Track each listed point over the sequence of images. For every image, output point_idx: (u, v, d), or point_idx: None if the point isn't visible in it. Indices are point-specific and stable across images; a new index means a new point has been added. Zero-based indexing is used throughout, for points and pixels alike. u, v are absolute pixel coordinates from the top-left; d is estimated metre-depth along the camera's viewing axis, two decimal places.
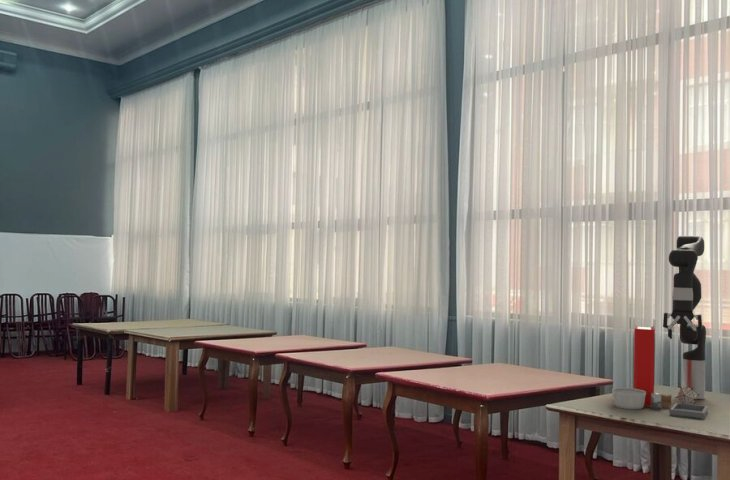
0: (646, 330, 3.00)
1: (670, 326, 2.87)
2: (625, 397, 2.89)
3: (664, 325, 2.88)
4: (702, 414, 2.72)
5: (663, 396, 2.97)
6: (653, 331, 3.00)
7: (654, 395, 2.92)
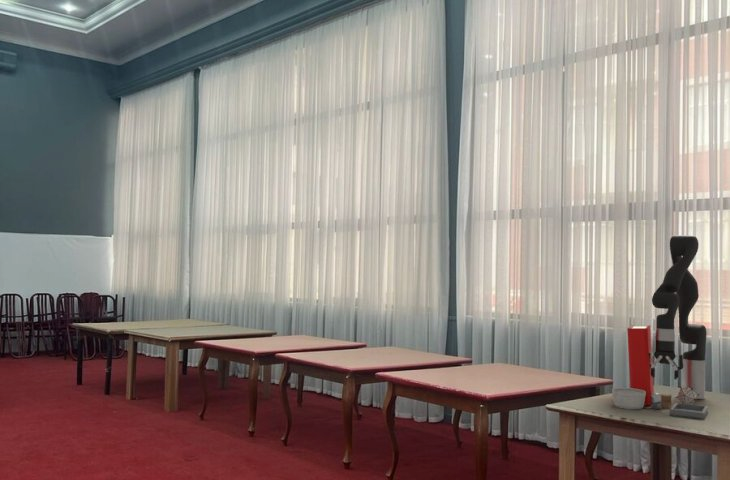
0: (639, 329, 3.01)
1: (653, 365, 3.00)
2: (625, 397, 2.89)
3: None
4: (702, 414, 2.72)
5: (663, 396, 2.97)
6: (646, 330, 3.01)
7: (654, 395, 2.92)
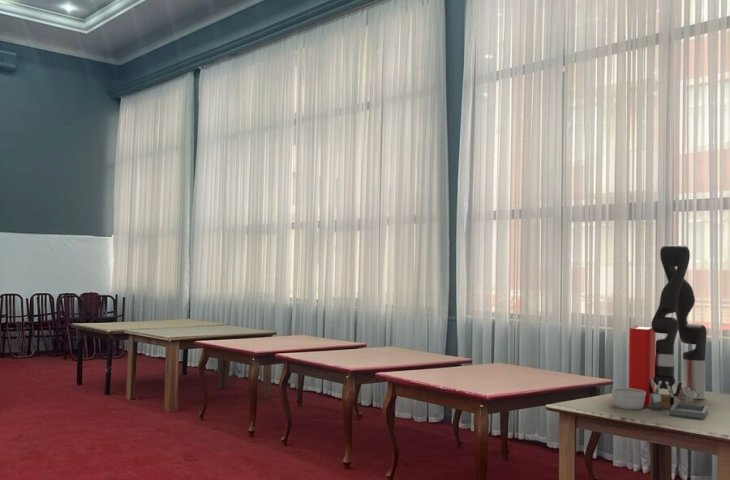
0: (641, 330, 3.00)
1: (656, 392, 2.99)
2: (625, 397, 2.89)
3: (650, 391, 3.00)
4: (702, 414, 2.72)
5: (663, 396, 2.97)
6: (648, 331, 3.00)
7: (654, 395, 2.92)
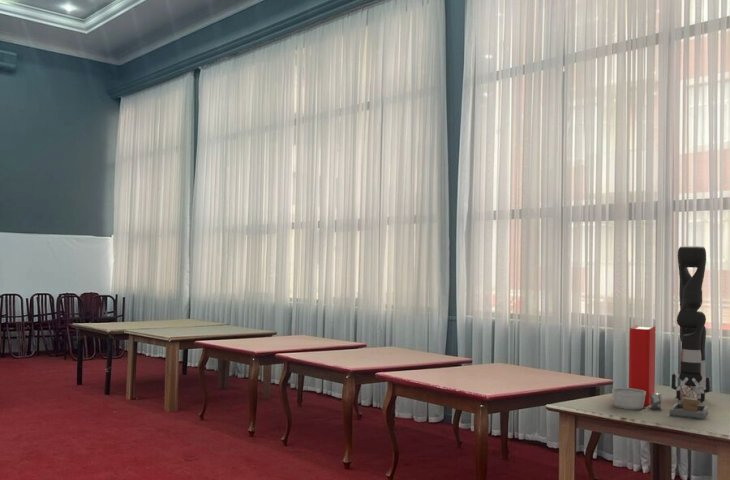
0: (641, 330, 3.00)
1: (679, 388, 2.87)
2: (625, 397, 2.89)
3: (672, 386, 2.88)
4: (702, 414, 2.72)
5: (690, 400, 2.84)
6: (648, 331, 3.00)
7: (654, 395, 2.92)
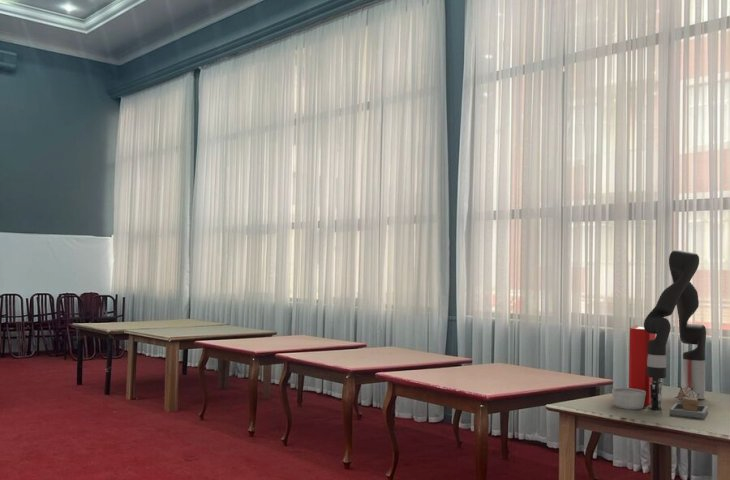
0: (641, 330, 3.00)
1: None
2: (625, 397, 2.89)
3: None
4: (702, 414, 2.72)
5: (690, 400, 2.84)
6: None
7: None
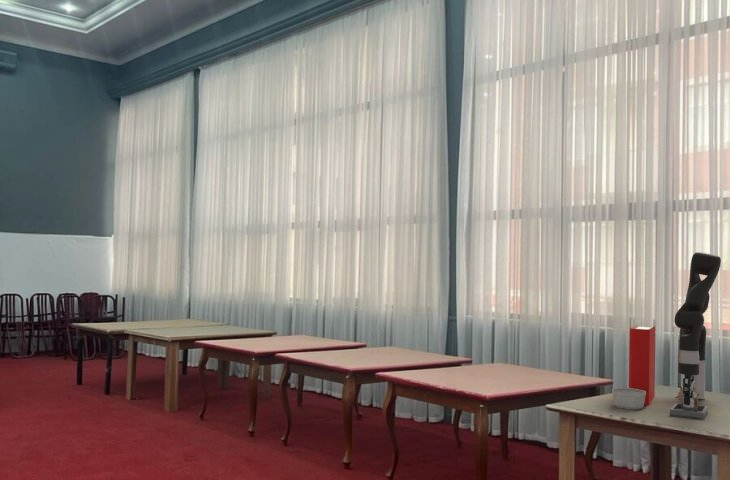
0: (641, 330, 3.00)
1: None
2: (625, 397, 2.89)
3: None
4: (702, 414, 2.72)
5: None
6: (648, 331, 3.00)
7: None
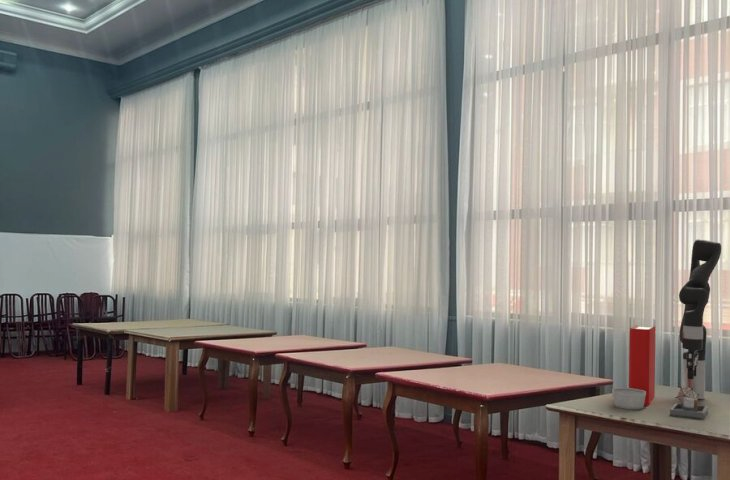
0: (641, 330, 3.00)
1: None
2: (625, 397, 2.89)
3: None
4: (702, 414, 2.72)
5: None
6: (648, 331, 3.00)
7: (686, 400, 2.78)
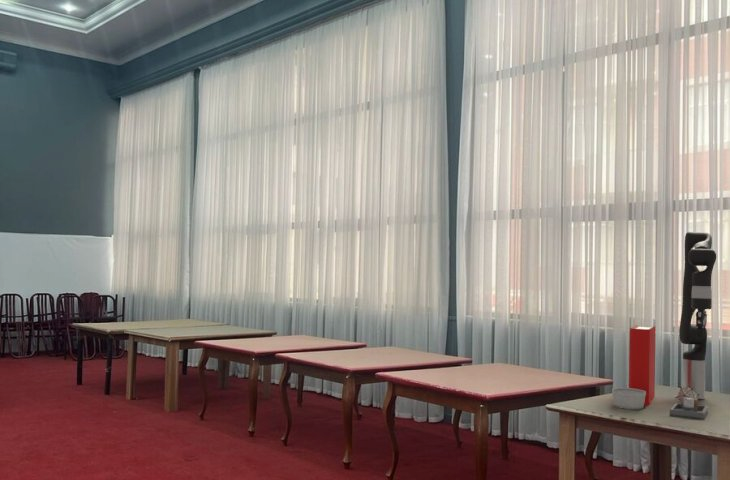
0: (641, 330, 3.00)
1: None
2: (625, 397, 2.89)
3: None
4: (702, 414, 2.72)
5: None
6: (648, 331, 3.00)
7: (686, 400, 2.78)
